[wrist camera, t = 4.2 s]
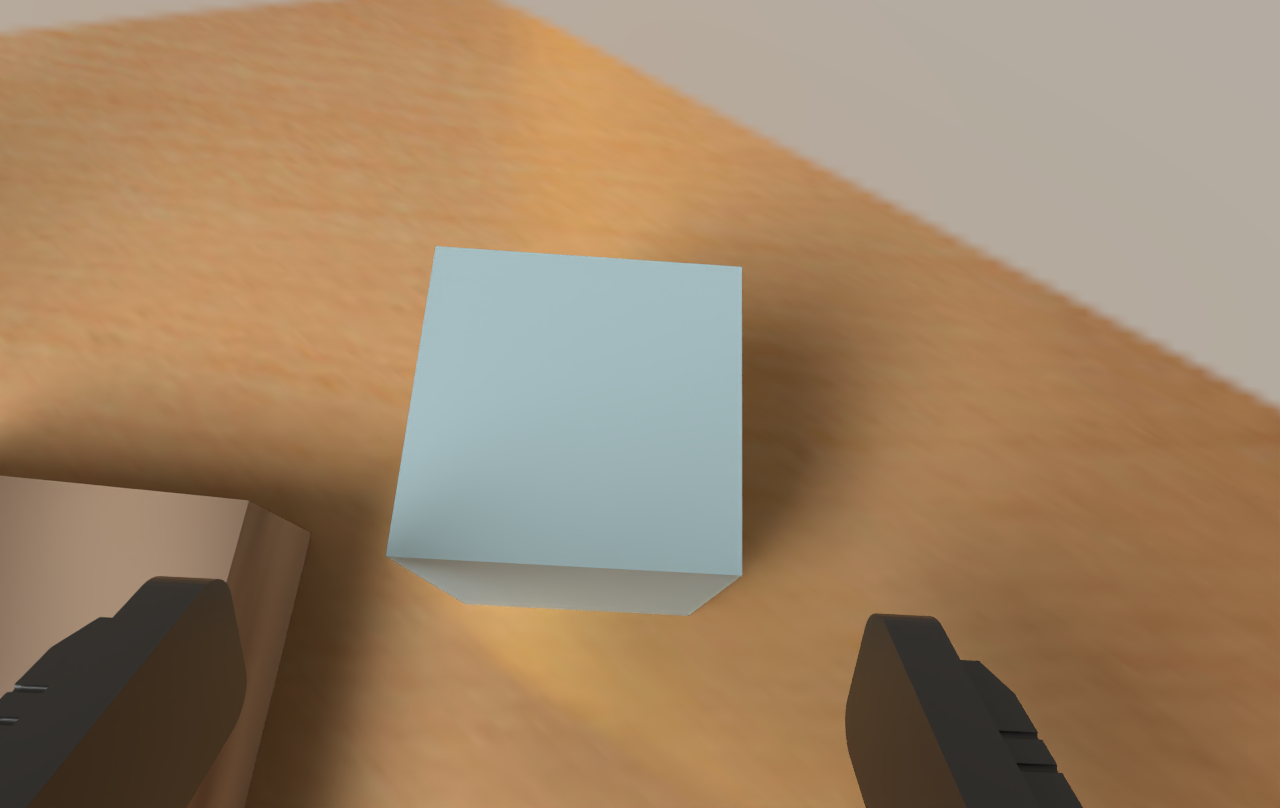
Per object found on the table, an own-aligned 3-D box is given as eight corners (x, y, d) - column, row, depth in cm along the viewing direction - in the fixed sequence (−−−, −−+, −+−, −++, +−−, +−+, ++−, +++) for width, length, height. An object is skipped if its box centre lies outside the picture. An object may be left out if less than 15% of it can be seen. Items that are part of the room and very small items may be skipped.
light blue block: (693, 408, 21) (742, 266, 14) (688, 615, 19) (742, 575, 12) (491, 395, 21) (435, 246, 14) (465, 604, 19) (385, 556, 12)
